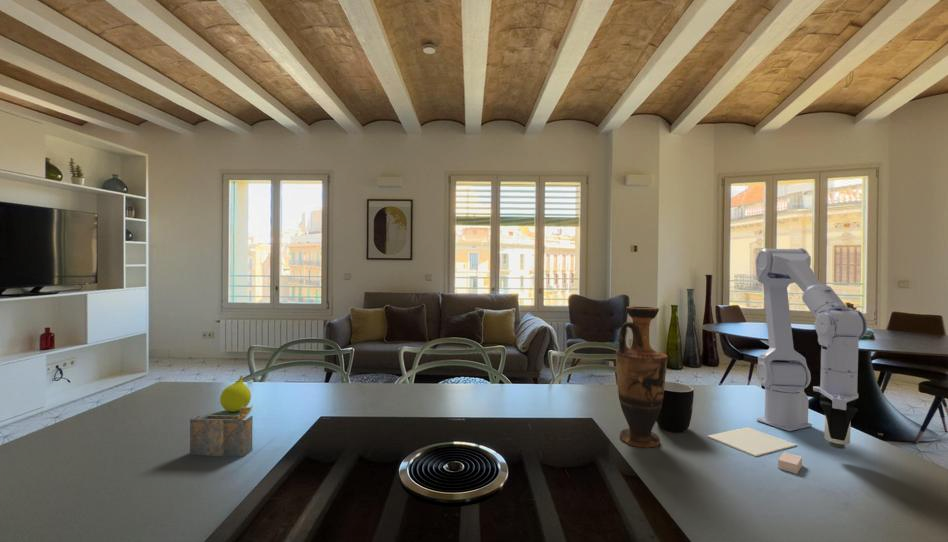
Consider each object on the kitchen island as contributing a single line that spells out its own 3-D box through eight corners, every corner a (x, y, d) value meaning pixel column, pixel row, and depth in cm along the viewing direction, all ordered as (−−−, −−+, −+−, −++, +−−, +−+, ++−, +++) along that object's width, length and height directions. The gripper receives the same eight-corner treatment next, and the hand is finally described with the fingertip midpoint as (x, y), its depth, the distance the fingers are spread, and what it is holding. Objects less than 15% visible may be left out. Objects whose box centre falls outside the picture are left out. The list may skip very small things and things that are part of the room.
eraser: (783, 461, 86) (783, 452, 86) (802, 466, 84) (802, 456, 84) (778, 469, 83) (778, 459, 83) (797, 475, 81) (797, 464, 81)
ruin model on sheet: (253, 451, 89) (253, 405, 89) (245, 458, 86) (245, 410, 86) (200, 450, 89) (200, 404, 89) (189, 457, 86) (190, 409, 86)
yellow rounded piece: (252, 405, 116) (252, 369, 116) (249, 414, 110) (249, 375, 110) (222, 408, 114) (223, 371, 114) (217, 417, 107) (217, 377, 107)
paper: (747, 428, 104) (747, 427, 104) (796, 445, 94) (796, 444, 94) (707, 436, 98) (707, 435, 98) (755, 456, 88) (755, 455, 88)
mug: (698, 436, 98) (699, 392, 98) (658, 433, 100) (658, 390, 100) (681, 418, 110) (682, 379, 110) (645, 416, 112) (646, 377, 112)
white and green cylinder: (831, 440, 89) (832, 402, 89) (854, 448, 86) (855, 408, 86) (819, 443, 88) (820, 404, 88) (843, 451, 84) (844, 410, 84)
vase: (666, 436, 98) (668, 306, 98) (665, 454, 88) (668, 310, 88) (617, 428, 103) (618, 304, 103) (611, 444, 93) (613, 307, 93)
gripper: (814, 360, 95) (812, 420, 95) (813, 372, 83) (811, 441, 84) (856, 365, 90) (855, 428, 90) (861, 379, 79) (859, 451, 79)
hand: (837, 435), depth 87 cm, fingers closed on white and green cylinder, 4 cm apart
